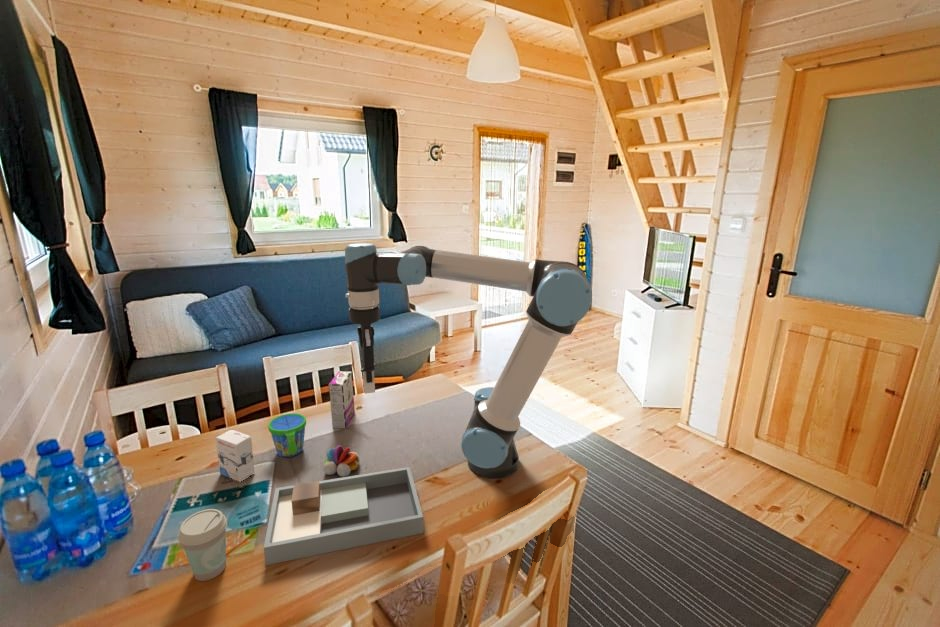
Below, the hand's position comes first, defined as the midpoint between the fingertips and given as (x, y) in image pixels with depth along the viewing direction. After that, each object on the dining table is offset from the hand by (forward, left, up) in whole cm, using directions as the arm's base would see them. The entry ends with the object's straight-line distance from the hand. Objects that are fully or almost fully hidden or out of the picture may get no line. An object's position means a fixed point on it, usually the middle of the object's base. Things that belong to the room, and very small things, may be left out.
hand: (369, 391), depth 116 cm
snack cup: (+24, -19, -26) cm, 40 cm away
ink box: (+37, -11, -26) cm, 46 cm away
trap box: (+8, +15, -26) cm, 31 cm away
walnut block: (+17, +11, -23) cm, 31 cm away
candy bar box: (+8, -34, -26) cm, 44 cm away
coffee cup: (+36, +23, -26) cm, 50 cm away
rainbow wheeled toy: (+9, -6, -26) cm, 28 cm away
